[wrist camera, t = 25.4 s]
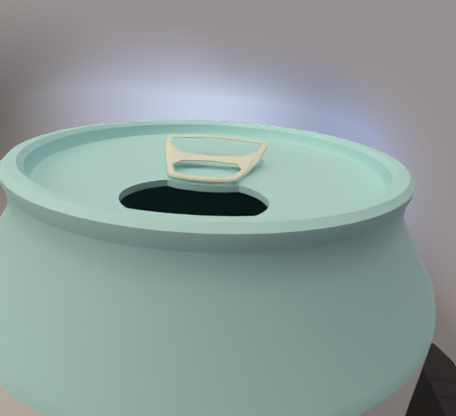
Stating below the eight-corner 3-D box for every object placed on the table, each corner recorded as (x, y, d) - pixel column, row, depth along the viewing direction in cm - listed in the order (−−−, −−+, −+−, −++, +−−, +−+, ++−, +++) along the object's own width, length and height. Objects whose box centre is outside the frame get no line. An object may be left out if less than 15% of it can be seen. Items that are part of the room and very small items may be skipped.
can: (379, 615, 9) (586, 180, 4) (102, 947, 5) (-322, 512, 1) (235, 402, 14) (260, 110, 10) (51, 499, 11) (-44, 116, 6)
